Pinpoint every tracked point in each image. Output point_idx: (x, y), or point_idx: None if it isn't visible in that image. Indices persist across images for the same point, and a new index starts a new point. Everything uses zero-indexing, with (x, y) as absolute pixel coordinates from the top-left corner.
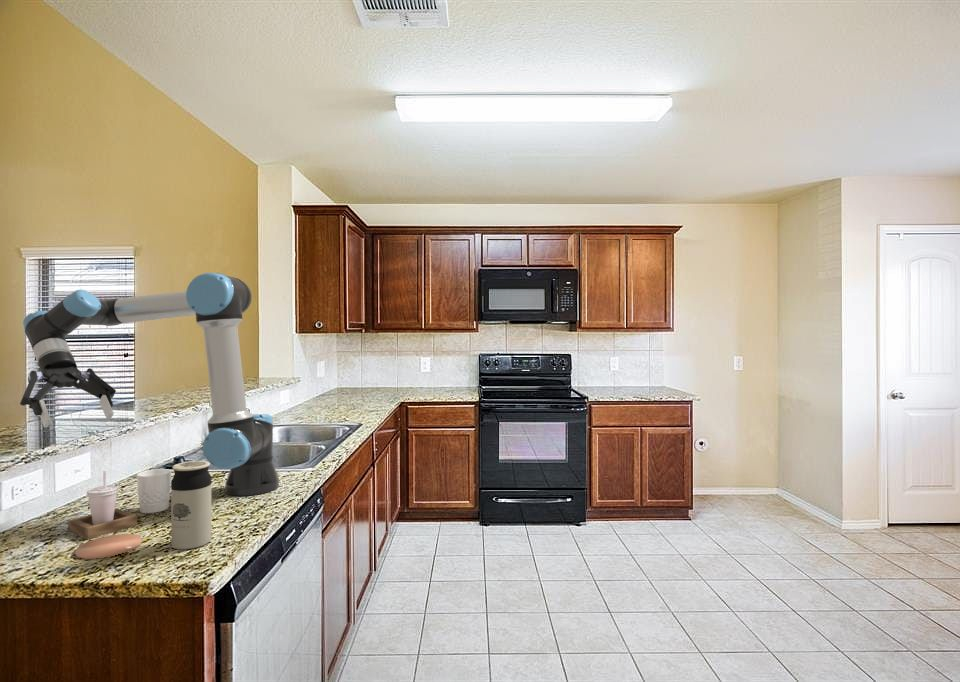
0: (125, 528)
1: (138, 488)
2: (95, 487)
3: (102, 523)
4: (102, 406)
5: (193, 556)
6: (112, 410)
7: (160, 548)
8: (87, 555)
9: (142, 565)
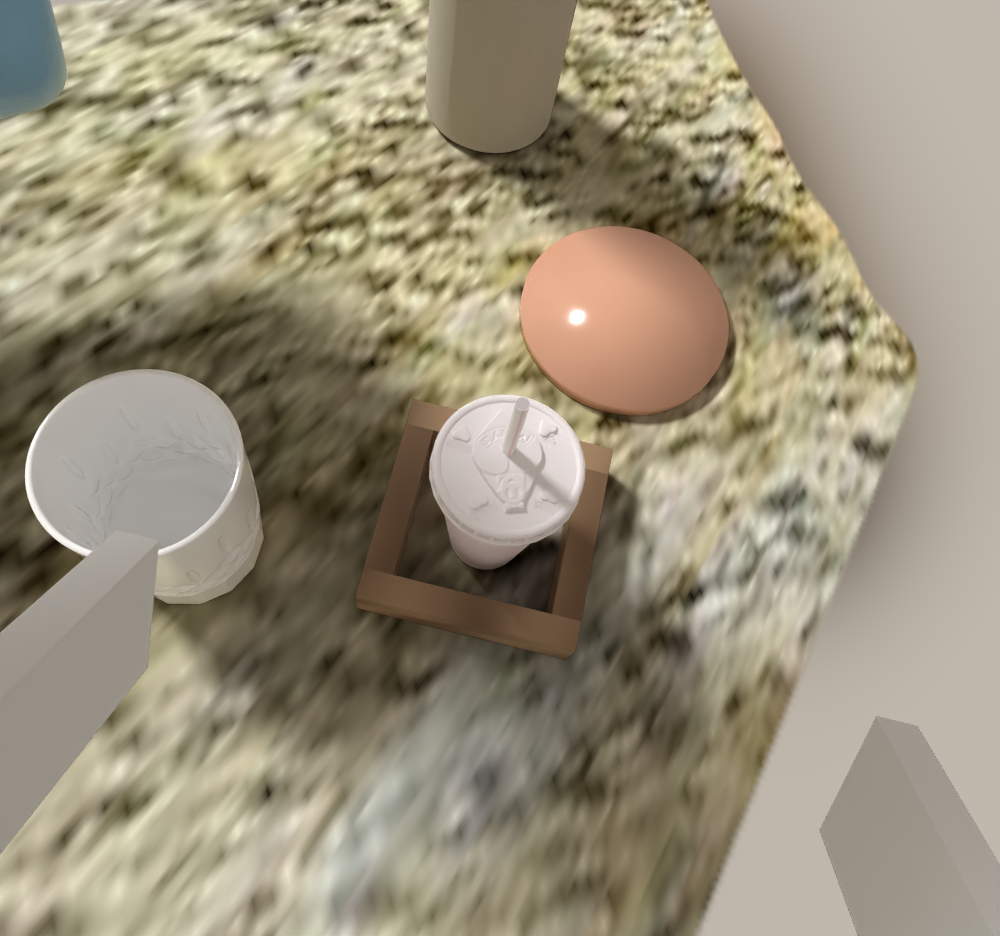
0: None
1: (244, 522)
2: (504, 530)
3: None
4: (4, 821)
5: None
6: (90, 555)
7: (558, 166)
8: (722, 298)
9: (672, 124)
